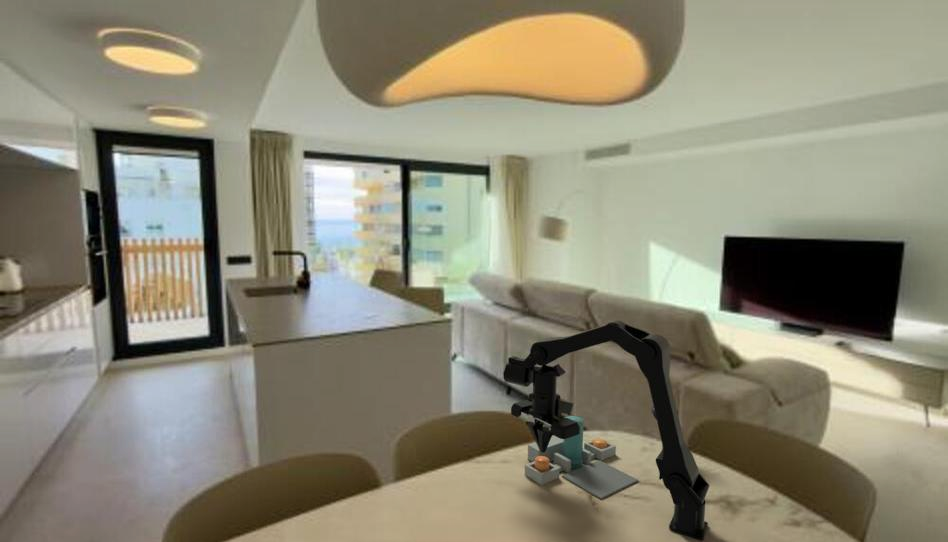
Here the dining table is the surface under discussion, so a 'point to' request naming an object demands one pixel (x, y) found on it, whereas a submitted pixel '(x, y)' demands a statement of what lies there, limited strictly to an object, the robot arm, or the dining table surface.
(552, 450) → the housing
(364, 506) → the dining table surface
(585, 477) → the mat
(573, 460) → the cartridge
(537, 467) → the left plunger
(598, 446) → the right plunger
